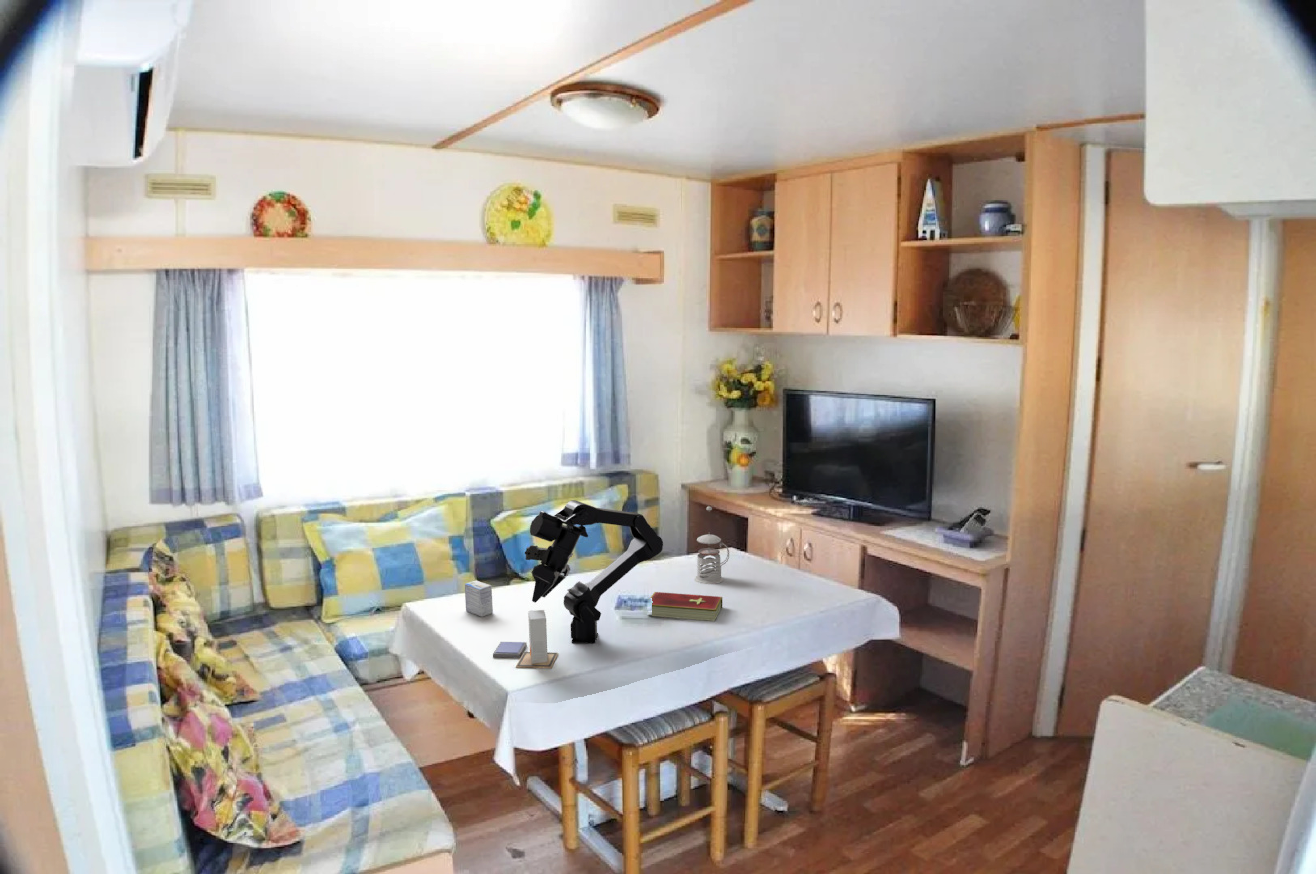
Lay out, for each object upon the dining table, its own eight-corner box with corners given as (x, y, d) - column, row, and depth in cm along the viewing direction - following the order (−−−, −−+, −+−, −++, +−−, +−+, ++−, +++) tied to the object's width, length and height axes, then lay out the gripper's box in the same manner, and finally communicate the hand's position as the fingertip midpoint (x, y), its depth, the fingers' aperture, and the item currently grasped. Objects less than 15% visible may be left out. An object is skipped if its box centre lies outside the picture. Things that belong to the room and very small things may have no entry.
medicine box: (493, 613, 251) (492, 585, 249) (480, 617, 247) (479, 589, 246) (477, 607, 256) (476, 579, 255) (465, 611, 253) (464, 583, 251)
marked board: (557, 654, 220) (557, 652, 220) (551, 668, 212) (551, 666, 212) (524, 653, 221) (524, 651, 221) (515, 667, 212) (515, 665, 212)
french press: (692, 575, 285) (692, 503, 282) (725, 574, 287) (726, 502, 283) (696, 584, 276) (696, 510, 272) (731, 583, 277) (732, 509, 273)
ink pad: (526, 645, 226) (526, 641, 226) (519, 658, 218) (519, 653, 218) (500, 645, 227) (500, 641, 226) (493, 657, 219) (492, 652, 219)
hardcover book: (655, 603, 259) (654, 590, 259) (722, 608, 255) (722, 595, 254) (645, 617, 248) (645, 603, 247) (715, 623, 243) (715, 609, 242)
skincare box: (529, 654, 219) (527, 610, 217) (545, 653, 220) (544, 609, 218) (531, 664, 213) (529, 619, 211) (548, 662, 214) (546, 617, 212)
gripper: (545, 530, 234) (521, 581, 234) (527, 535, 215) (501, 590, 216) (580, 548, 233) (556, 599, 233) (565, 554, 214) (539, 610, 214)
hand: (538, 599), depth 224 cm, fingers open, 9 cm apart
